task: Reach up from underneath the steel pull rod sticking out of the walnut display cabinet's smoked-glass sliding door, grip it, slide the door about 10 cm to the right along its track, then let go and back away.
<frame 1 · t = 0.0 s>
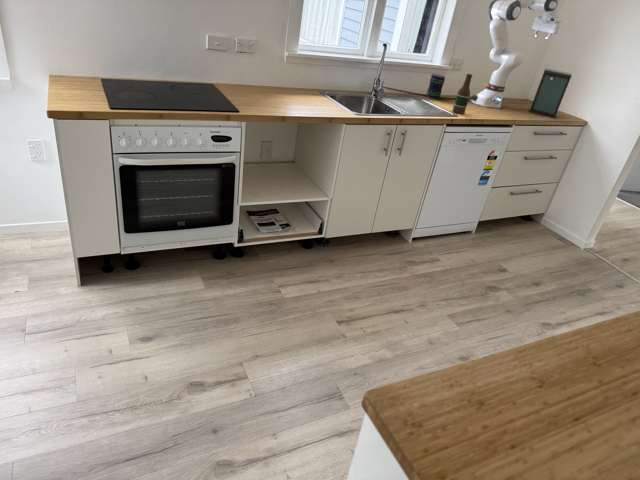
hand: (541, 38, 347), 48 cm above the counter, tool pointing down, fingers open, 8 cm apart
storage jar: (432, 97, 343), on the counter
display cabinet: (542, 113, 357), on the counter
glass door: (549, 95, 341), point 15 cm above the counter, slide at 0.0 cm
beer bottle: (458, 112, 311), on the counter
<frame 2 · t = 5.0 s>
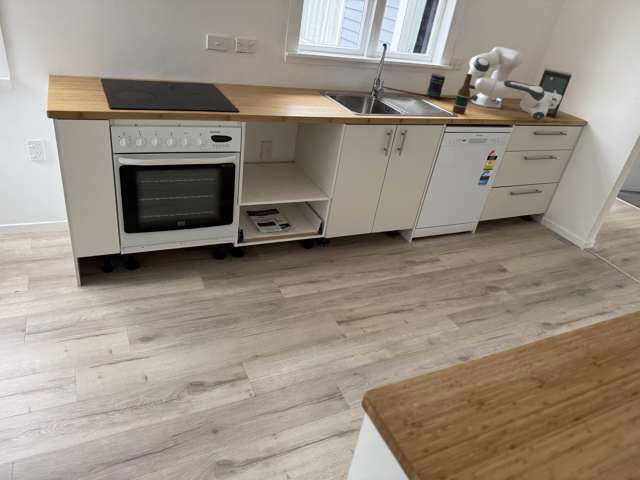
hand: (547, 89, 329), 20 cm above the counter, tool pointing upward, fingers open, 8 cm apart
nothing on the counter moved.
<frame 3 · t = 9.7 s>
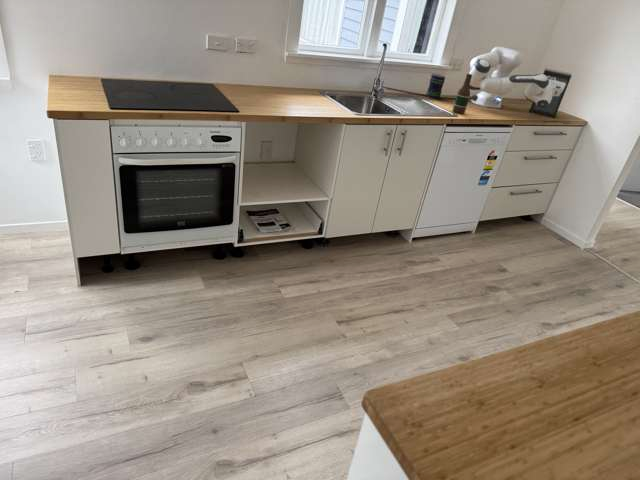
hand: (551, 77, 336), 26 cm above the counter, tool pointing upward, fingers closed on glass door, 2 cm apart
glass door: (549, 95, 341), point 15 cm above the counter, slide at 0.0 cm, touching gripper
everything else where it was.
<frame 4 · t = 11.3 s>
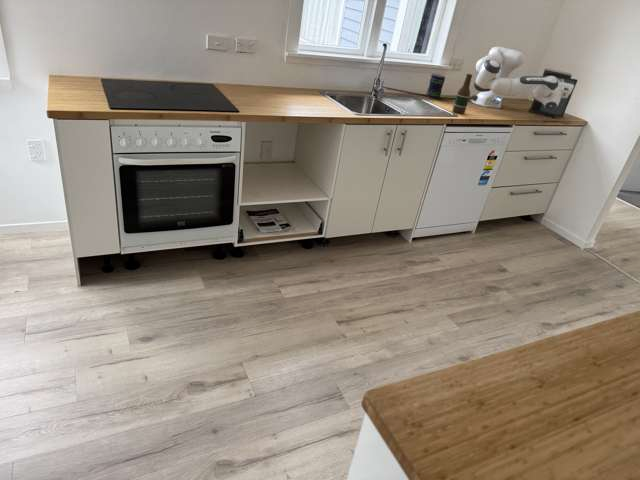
hand: (559, 79, 334), 26 cm above the counter, tool pointing upward, fingers closed on glass door, 2 cm apart
glass door: (557, 97, 339), point 15 cm above the counter, slide at 5.2 cm, touching gripper
everything else where it was.
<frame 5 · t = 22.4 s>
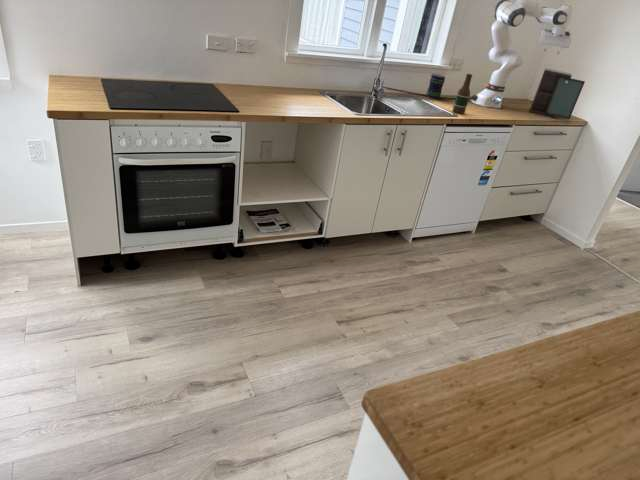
hand: (551, 52, 341), 41 cm above the counter, tool pointing down, fingers open, 8 cm apart
glass door: (564, 98, 338), point 15 cm above the counter, slide at 10.0 cm
everything else where it was.
at the end: glass door slide at 10.0 cm; the gripper is holding nothing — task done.
